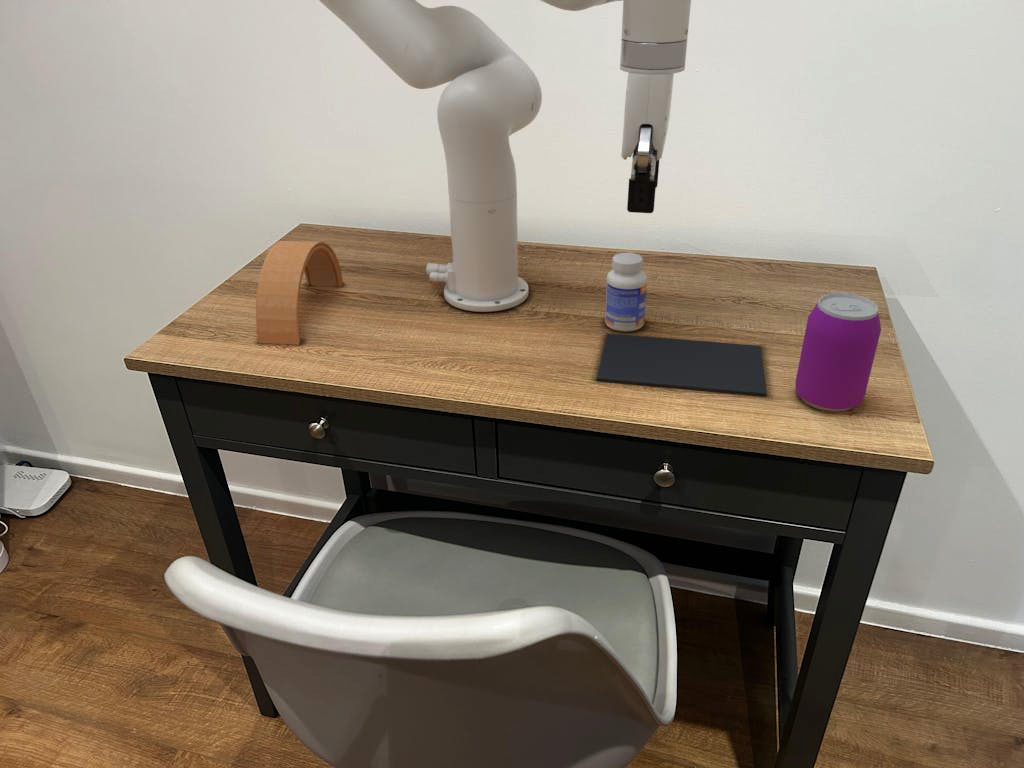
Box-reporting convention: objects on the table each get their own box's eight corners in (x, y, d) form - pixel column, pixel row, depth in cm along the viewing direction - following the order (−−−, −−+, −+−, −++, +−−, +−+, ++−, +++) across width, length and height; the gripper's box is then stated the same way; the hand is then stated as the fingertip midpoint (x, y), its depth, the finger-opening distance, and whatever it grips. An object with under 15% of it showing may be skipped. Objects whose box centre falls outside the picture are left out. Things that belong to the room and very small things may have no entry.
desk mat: (596, 380, 98) (596, 378, 98) (606, 335, 108) (606, 333, 108) (766, 396, 95) (766, 393, 94) (760, 348, 105) (760, 345, 104)
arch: (344, 283, 124) (336, 221, 119) (298, 345, 107) (286, 275, 102) (308, 282, 125) (298, 220, 120) (257, 342, 108) (243, 274, 103)
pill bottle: (646, 332, 109) (651, 265, 104) (606, 332, 109) (609, 266, 104) (641, 314, 114) (646, 250, 108) (602, 315, 114) (606, 250, 109)
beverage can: (855, 383, 97) (877, 291, 91) (868, 417, 90) (893, 322, 84) (789, 378, 98) (806, 288, 92) (798, 412, 91) (817, 318, 85)
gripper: (626, 43, 101) (618, 177, 110) (614, 68, 87) (606, 220, 96) (686, 44, 100) (674, 180, 109) (684, 70, 85) (670, 224, 94)
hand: (642, 199), depth 102 cm, fingers open, 9 cm apart
